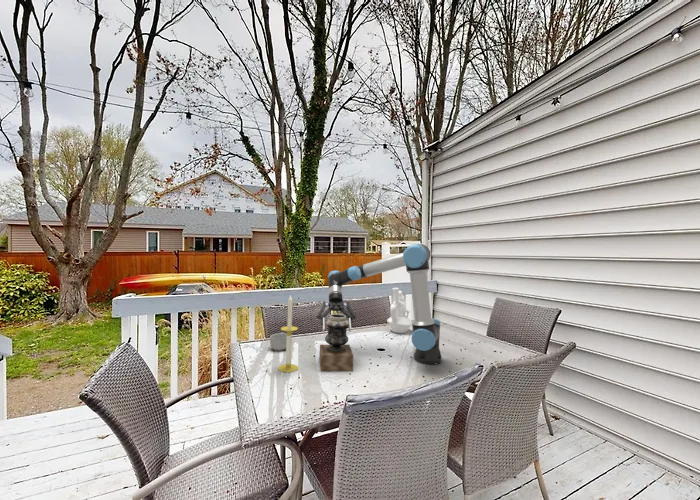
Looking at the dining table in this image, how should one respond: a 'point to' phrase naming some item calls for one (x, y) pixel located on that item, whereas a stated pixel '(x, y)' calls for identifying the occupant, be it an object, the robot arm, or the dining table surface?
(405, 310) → the white tall piece
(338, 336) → the apothecary jar
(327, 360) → the walnut stand
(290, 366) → the rod with yellow discs
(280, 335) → the teacup
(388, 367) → the dining table surface
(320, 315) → the robot arm
